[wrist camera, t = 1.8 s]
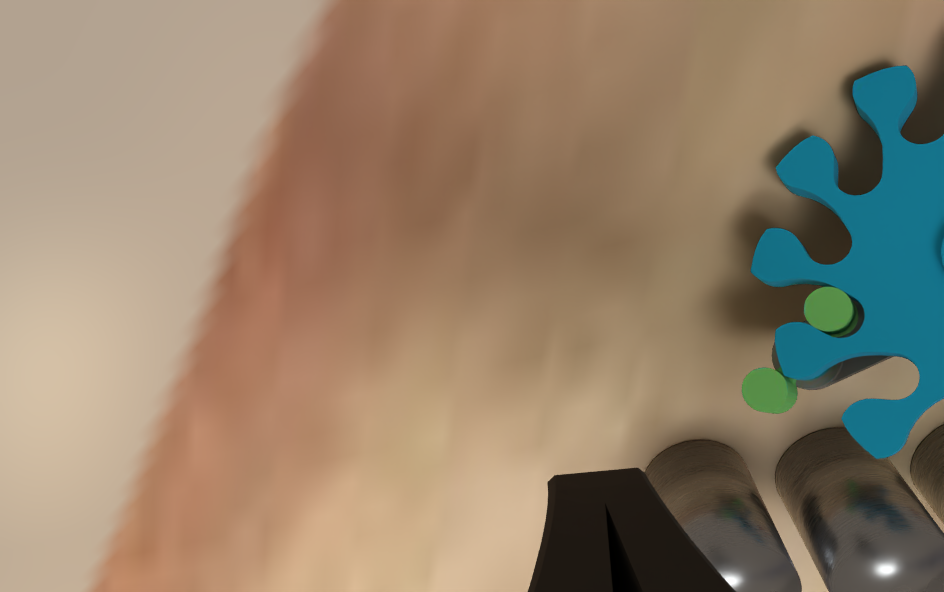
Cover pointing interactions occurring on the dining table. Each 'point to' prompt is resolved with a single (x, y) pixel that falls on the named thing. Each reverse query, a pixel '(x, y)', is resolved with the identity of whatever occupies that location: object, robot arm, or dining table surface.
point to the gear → (863, 274)
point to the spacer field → (812, 513)
